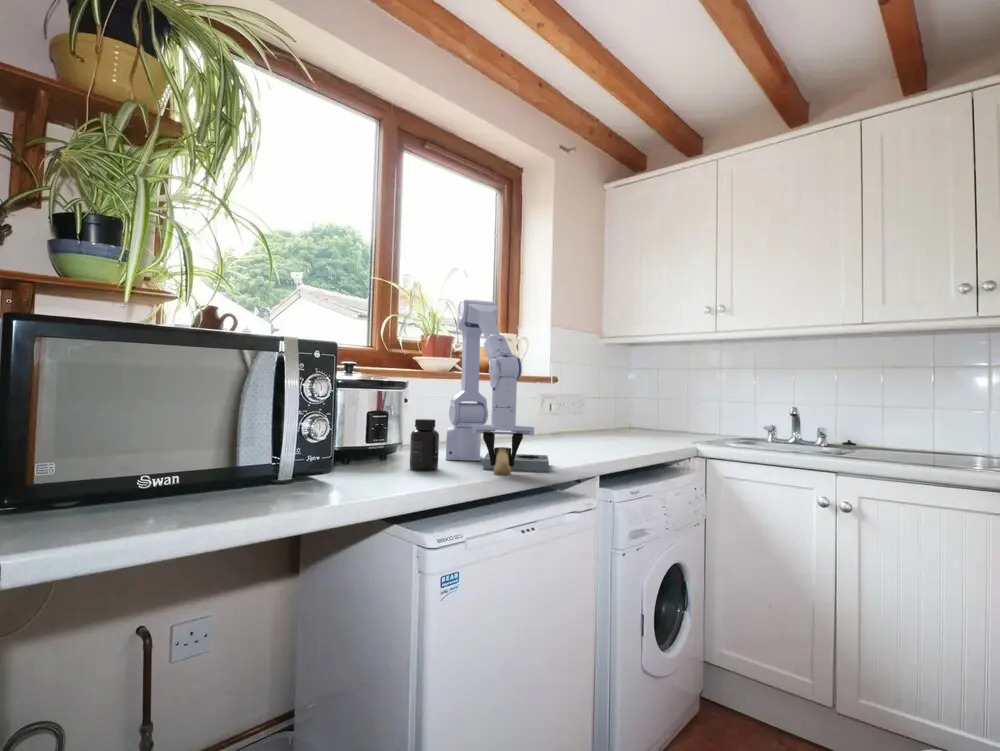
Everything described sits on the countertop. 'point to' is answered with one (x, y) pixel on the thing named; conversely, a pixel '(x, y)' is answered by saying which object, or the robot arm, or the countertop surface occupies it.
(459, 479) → the countertop surface
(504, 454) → the bushing
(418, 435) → the supplement bottle
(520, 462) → the jig
